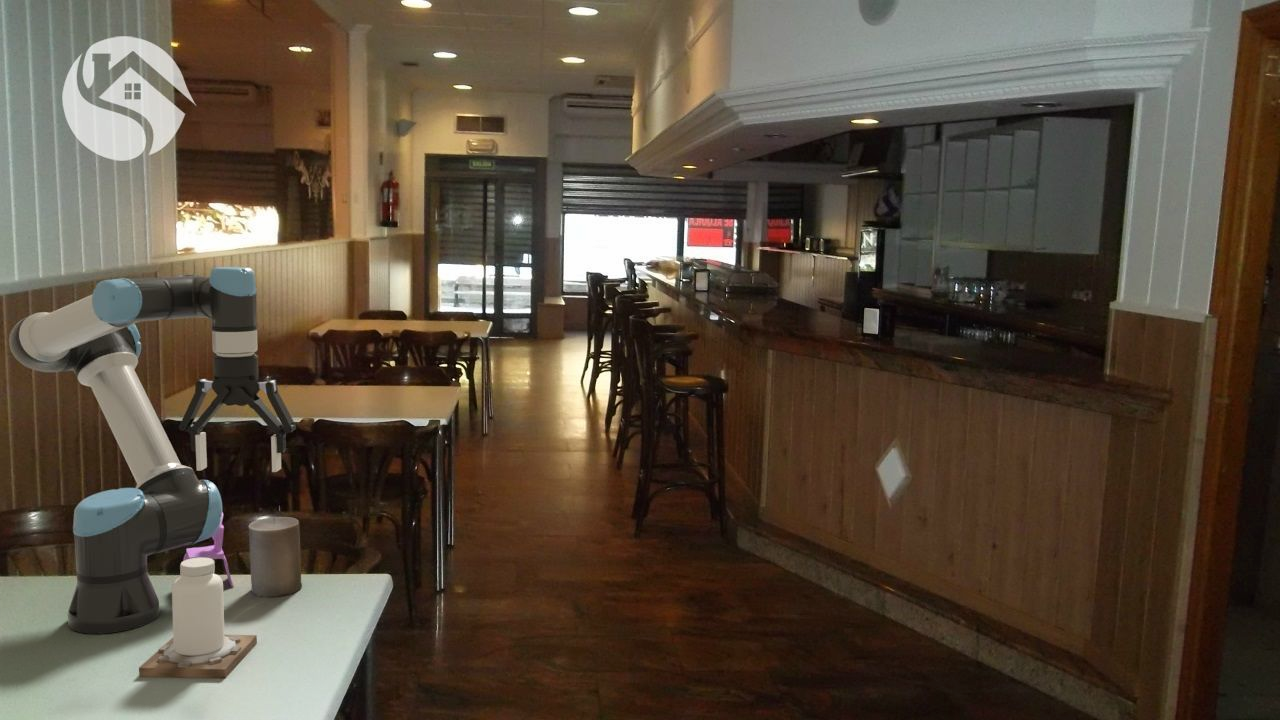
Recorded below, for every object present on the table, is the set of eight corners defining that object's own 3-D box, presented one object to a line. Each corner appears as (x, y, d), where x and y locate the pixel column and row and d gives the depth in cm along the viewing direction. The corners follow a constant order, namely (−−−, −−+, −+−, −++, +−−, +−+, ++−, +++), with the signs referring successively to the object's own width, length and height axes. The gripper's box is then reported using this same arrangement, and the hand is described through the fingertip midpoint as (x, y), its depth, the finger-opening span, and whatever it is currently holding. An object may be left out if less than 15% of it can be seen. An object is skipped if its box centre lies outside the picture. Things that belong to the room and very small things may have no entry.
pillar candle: (310, 582, 214) (308, 511, 212) (286, 599, 205) (284, 525, 203) (266, 579, 216) (263, 509, 214) (241, 596, 206) (237, 522, 204)
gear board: (139, 676, 170) (138, 664, 169) (177, 641, 184) (176, 630, 183) (225, 678, 170) (225, 666, 169) (256, 643, 184) (256, 632, 183)
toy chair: (183, 582, 213) (180, 511, 211) (229, 576, 217) (226, 506, 215) (187, 596, 206) (184, 522, 204) (234, 589, 210) (232, 516, 208)
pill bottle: (235, 645, 178) (232, 560, 176) (193, 661, 171) (189, 573, 169) (205, 634, 182) (202, 551, 180) (163, 649, 175) (160, 563, 173)
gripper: (311, 352, 191) (314, 466, 193) (175, 349, 191) (179, 463, 193) (298, 357, 183) (301, 475, 186) (156, 355, 183) (161, 473, 186)
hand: (239, 469), depth 190 cm, fingers open, 13 cm apart
